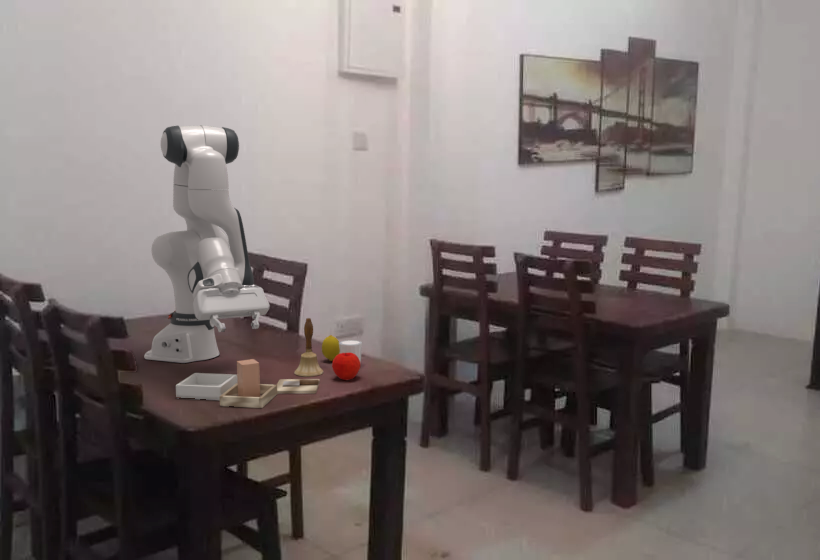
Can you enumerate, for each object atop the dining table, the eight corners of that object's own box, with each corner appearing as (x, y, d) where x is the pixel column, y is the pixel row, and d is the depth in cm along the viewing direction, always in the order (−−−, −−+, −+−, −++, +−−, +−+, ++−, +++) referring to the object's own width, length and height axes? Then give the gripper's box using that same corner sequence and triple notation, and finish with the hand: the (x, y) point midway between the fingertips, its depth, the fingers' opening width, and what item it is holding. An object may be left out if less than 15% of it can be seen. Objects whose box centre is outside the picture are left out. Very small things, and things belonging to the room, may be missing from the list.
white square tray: (176, 398, 215) (175, 385, 214) (195, 385, 226) (194, 372, 226) (220, 400, 213) (220, 387, 212) (237, 387, 225) (237, 374, 224)
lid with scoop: (273, 393, 219) (273, 385, 218) (279, 382, 229) (279, 374, 229) (316, 393, 219) (316, 385, 218) (320, 381, 230) (320, 374, 229)
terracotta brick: (238, 399, 214) (236, 361, 213) (254, 396, 216) (253, 359, 215) (243, 403, 210) (242, 365, 209) (260, 401, 212) (259, 362, 211)
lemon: (337, 363, 249) (337, 337, 248) (319, 362, 250) (319, 336, 249) (342, 359, 254) (342, 333, 253) (325, 358, 255) (324, 332, 254)
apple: (349, 373, 239) (349, 347, 238) (366, 378, 233) (366, 352, 232) (326, 378, 234) (326, 352, 232) (343, 384, 228) (343, 357, 227)
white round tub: (339, 362, 250) (338, 339, 249) (362, 362, 251) (361, 339, 250) (339, 368, 244) (338, 345, 242) (362, 368, 244) (362, 344, 243)
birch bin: (219, 406, 208) (219, 396, 208) (237, 392, 220) (236, 383, 220) (262, 408, 207) (261, 398, 206) (277, 394, 218) (277, 384, 218)
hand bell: (327, 370, 242) (326, 316, 240) (318, 377, 234) (316, 321, 232) (300, 368, 244) (299, 314, 241) (290, 376, 236) (288, 320, 233)
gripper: (257, 291, 235) (271, 332, 229) (186, 295, 224) (199, 339, 217) (264, 277, 231) (279, 319, 225) (192, 282, 220) (206, 325, 213)
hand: (239, 329), depth 221 cm, fingers open, 8 cm apart
